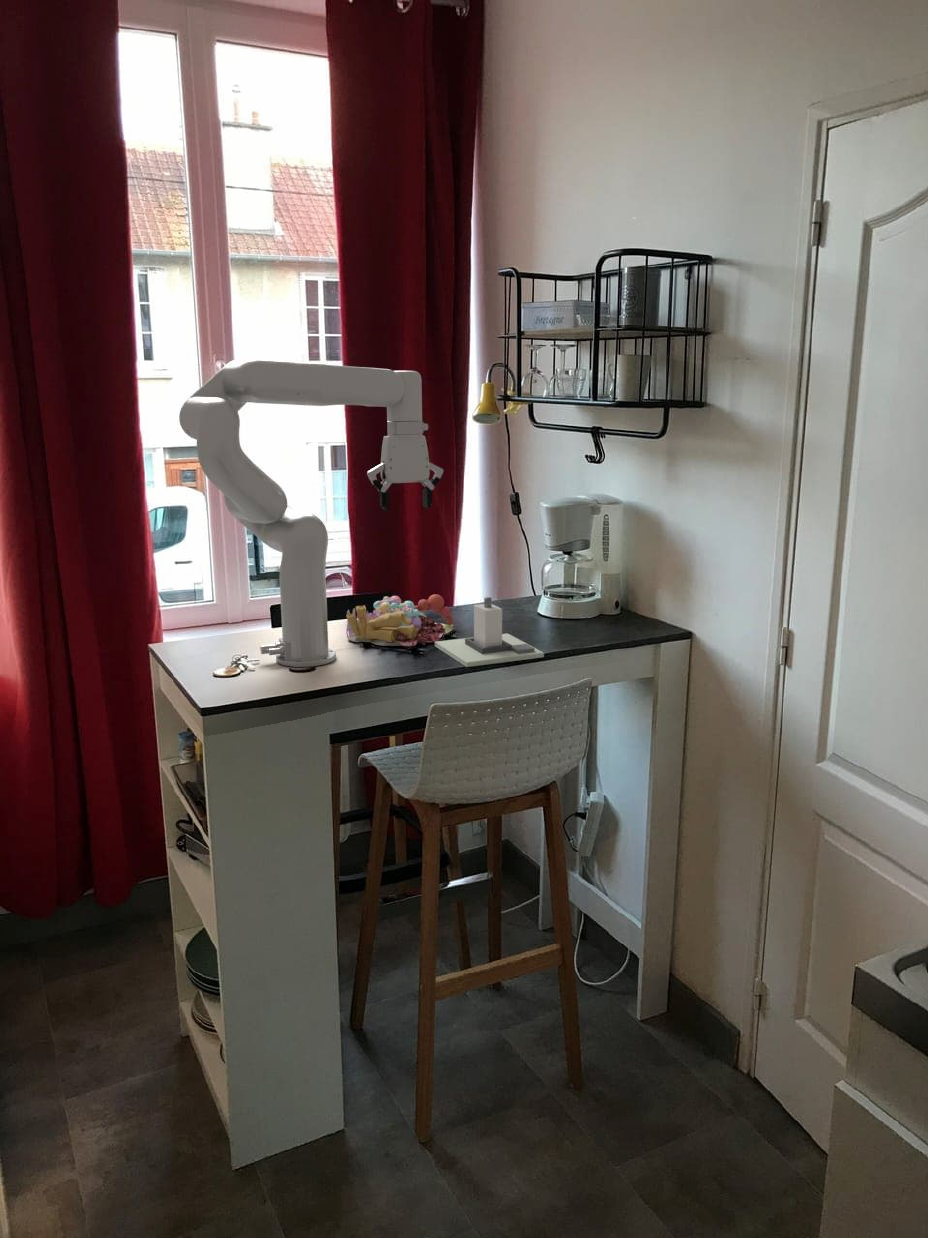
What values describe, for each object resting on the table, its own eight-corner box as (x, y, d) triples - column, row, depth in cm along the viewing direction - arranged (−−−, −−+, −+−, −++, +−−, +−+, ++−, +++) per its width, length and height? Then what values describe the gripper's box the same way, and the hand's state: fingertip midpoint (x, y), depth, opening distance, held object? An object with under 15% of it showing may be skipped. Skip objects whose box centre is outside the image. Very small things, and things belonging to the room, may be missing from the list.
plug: (474, 644, 214) (473, 596, 212) (490, 642, 216) (490, 594, 213) (485, 651, 209) (485, 601, 206) (502, 649, 210) (502, 599, 208)
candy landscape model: (432, 653, 213) (431, 612, 211) (331, 646, 219) (330, 606, 217) (460, 626, 237) (460, 588, 235) (369, 620, 242) (368, 584, 240)
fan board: (466, 667, 201) (466, 656, 201) (434, 646, 217) (434, 636, 217) (543, 657, 208) (544, 647, 207) (507, 637, 224) (507, 628, 224)
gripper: (435, 428, 217) (436, 504, 221) (361, 429, 210) (363, 508, 214) (448, 429, 210) (449, 508, 214) (371, 431, 203) (374, 512, 207)
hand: (406, 508), depth 214 cm, fingers open, 9 cm apart
